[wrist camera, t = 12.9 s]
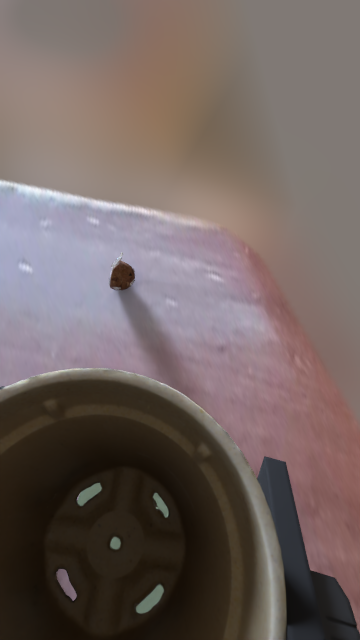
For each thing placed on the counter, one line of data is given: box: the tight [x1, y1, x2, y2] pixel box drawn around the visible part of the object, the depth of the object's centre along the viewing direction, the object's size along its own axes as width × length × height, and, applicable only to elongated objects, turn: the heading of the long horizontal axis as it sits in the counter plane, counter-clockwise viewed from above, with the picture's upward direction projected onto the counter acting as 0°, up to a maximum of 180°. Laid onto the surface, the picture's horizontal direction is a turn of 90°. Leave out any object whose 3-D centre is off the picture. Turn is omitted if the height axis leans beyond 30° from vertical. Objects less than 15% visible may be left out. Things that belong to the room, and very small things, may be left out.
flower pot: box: [0, 368, 287, 640], centre depth 11 cm, size 9×9×9 cm
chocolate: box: [109, 252, 135, 290], centre depth 33 cm, size 3×2×4 cm
